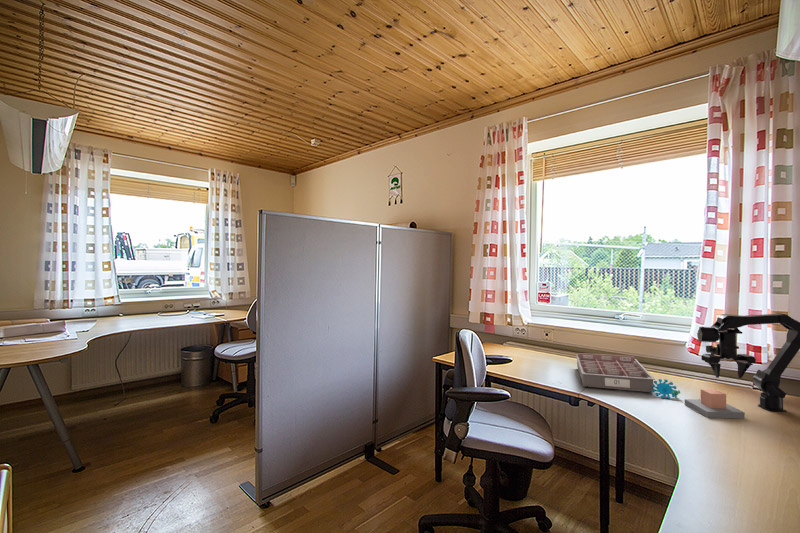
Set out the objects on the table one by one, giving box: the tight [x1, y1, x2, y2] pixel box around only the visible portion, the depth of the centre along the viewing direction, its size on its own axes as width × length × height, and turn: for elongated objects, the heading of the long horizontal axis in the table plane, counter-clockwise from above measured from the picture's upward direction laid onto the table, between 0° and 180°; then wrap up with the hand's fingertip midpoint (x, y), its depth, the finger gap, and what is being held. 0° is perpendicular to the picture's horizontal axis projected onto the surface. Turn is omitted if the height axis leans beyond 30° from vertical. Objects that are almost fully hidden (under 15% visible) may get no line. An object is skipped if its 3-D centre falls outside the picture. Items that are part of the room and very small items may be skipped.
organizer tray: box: [575, 352, 656, 393], centre depth 201 cm, size 32×40×10 cm
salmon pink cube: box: [700, 388, 727, 408], centre depth 156 cm, size 6×6×6 cm
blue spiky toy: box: [652, 378, 681, 400], centre depth 176 cm, size 11×6×10 cm
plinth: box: [684, 398, 746, 419], centre depth 157 cm, size 14×14×2 cm
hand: (728, 377), depth 163 cm, fingers open, 9 cm apart
